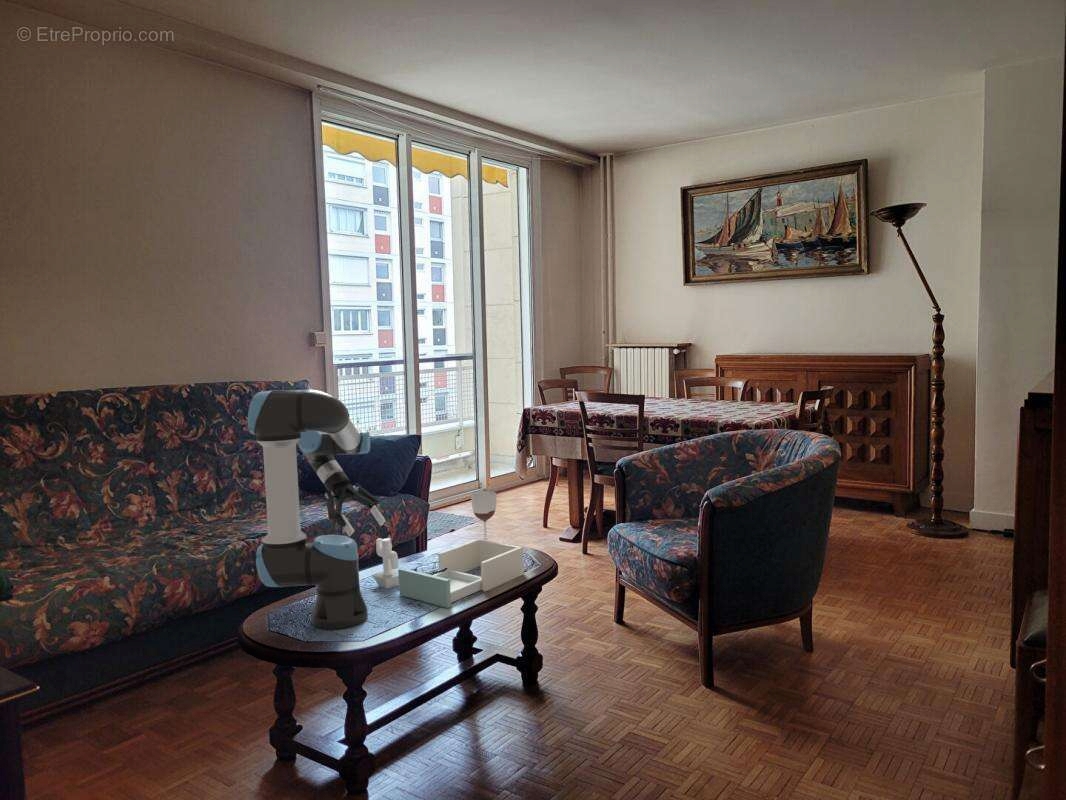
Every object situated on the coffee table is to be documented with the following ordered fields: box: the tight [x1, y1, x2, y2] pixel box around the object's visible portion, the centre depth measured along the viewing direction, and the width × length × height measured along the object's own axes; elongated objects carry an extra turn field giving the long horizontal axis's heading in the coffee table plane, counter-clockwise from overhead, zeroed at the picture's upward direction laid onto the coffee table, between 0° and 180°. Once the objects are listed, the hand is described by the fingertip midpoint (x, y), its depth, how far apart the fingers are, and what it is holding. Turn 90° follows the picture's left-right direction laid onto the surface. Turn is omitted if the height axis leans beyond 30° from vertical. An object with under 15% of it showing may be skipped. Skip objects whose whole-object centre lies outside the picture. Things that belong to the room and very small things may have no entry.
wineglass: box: [470, 490, 497, 541], centre depth 271 cm, size 9×10×22 cm
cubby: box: [437, 538, 525, 593], centre depth 248 cm, size 19×19×9 cm
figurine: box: [371, 537, 399, 589], centre depth 243 cm, size 7×9×15 cm
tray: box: [397, 567, 482, 609], centre depth 235 cm, size 19×20×8 cm
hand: (367, 528), depth 248 cm, fingers open, 13 cm apart
